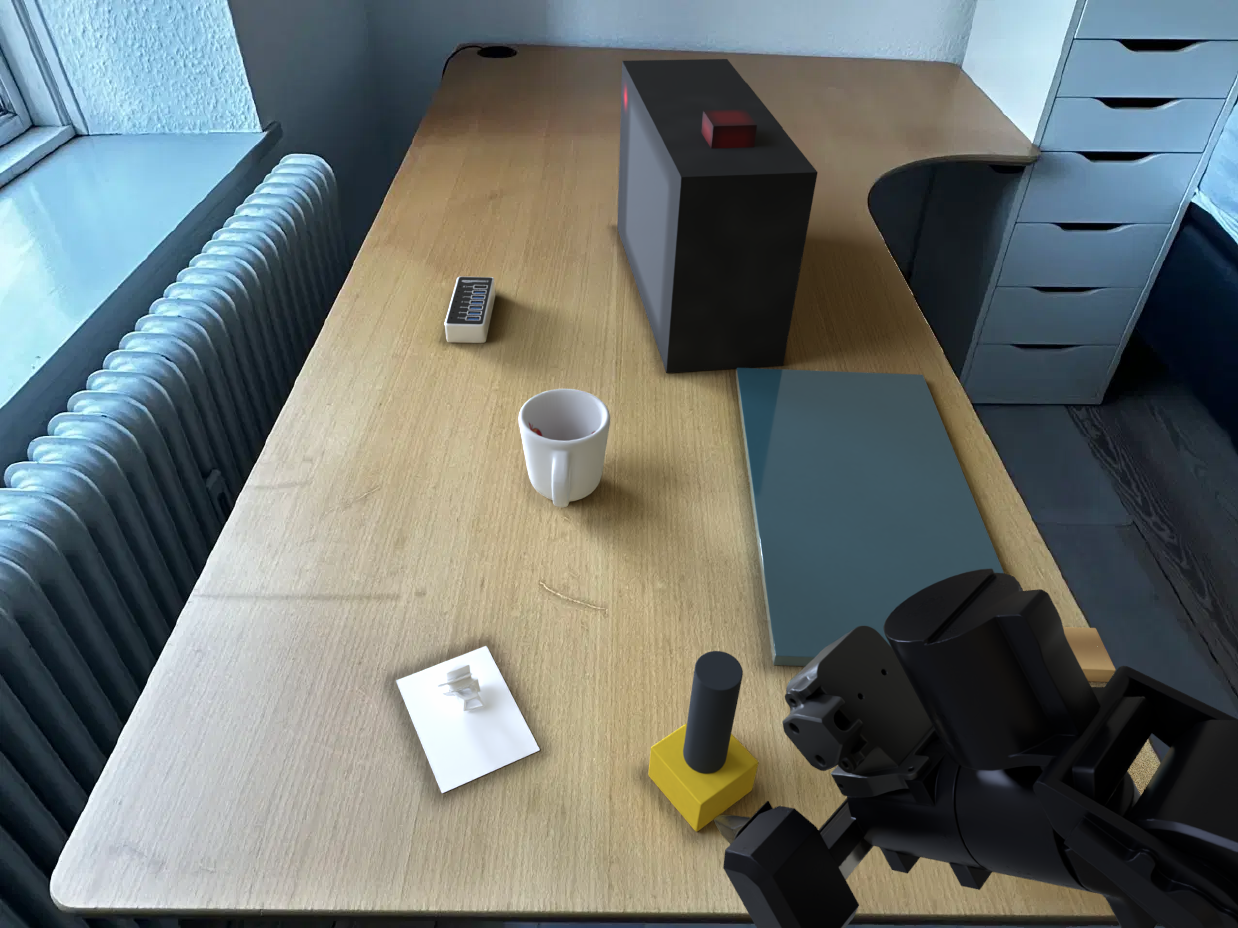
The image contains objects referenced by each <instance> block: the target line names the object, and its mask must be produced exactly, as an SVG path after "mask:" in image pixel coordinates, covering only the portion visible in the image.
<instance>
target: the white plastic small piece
mask: <svg viewBox="0 0 1238 928" xmlns="http://www.w3.org/2000/svg"><path fill="white" fill-rule="evenodd" d="M445 679H446V682H443V683H440V684H438V685H437V687H438V688H440V689H439V690H440V694H441V695H443V696H445V697H454V696H455V697H456V699H457V701H458V703H459V705H460V708H461V710H462V711H463V712H467V711H472V710H476V709H480V708H485V707H486V704H485V703H484V701H483V699H482V697H481V696H480V694H479V693H480V692H481V686H480V681H479V677H478V675H477V674H475V675H473V673H472V672H471V665H470V664H457V665H455V666H454V667H453V668H452V669H450V670H449V671H448V672H447V673H446V674H445Z"/></svg>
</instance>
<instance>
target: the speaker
mask: <svg viewBox="0 0 1238 928" xmlns="http://www.w3.org/2000/svg"><path fill="white" fill-rule="evenodd" d="M620 87H621V89H620V90H621V91H620V120H619V121H620V124H619V125H620V127H619V155H618V156H619V158H618V162H619V163H618V188H617V189H618V191H617V192H618V193H617V197H618V198H617V221H616V222H617V225H616V228H617V232H618V235H619V237H620V238H619V239H620V240H621V243H622V246H623V248H624V253H625V256H626V258H627V262H628V264H629V267H630V271H631V273H632V276H633V279H634V283H635V285H636V288H637V291H638V294H639V297H640V299H641V303H642V306H643V308H644V311H645V314H646V317H647V320H648V323H649V327H650V329H651V333H652V336H653V338H654V341H655V343H656V346H657V350H658V353H659V356H660V358H661V362H662V365H663V367H664V370H665V373H666V374H673V373H691V372H706V371H719V370H720V371H721V370H734V369H735V370H737V368H764V367H766V368H768V367H780V366H781V367H783V366H784V363H785V358H786V352H787V347H788V341H789V337H790V330H791V325H792V324H791V323H792V318H793V313H794V307H795V301H796V296H797V290H798V284H799V279H800V273H801V268H802V264H803V263H802V262H803V256H804V251H805V245H806V240H807V234H808V228H809V224H810V223H809V222H810V219H811V213H812V208H813V207H812V205H813V201H814V195H815V190H816V184H817V178H818V173H819V172H818V171H817V169H816V168H815V167H814V166H813V164H812V163H811V162H810V161H809V160H808V157H806V155H804V153H803V152H802V150H801V149H800V148H799V147H798V145H797V144H796V143H795V142H794V140H792V138H791V137H790V136H789V135H788V133H787V132H786V130H785V129H784V128H783V126H782V125H781V124H780V122H779V121H778V120H777V118H775V116H774V114H772V113H771V111H770V110H769V109H768V107H767V105H765V104H764V103H763V101H762V100H761V99H760V97H759V96H758V95H757V93H756V92H755V91H754V89H752V87H751V86H750V84H748V83H747V82H746V80H745V79H744V78H743V77H742V76H741V74H740V73H739V72H738V71H737V69H736V68H735V67H734V66H733V64H732V63H731V62H730V61H729V59H728V58H703V59H702V58H701V59H698V58H697V59H644V60H643V59H642V60H622V62H621V86H620Z"/></svg>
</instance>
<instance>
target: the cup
mask: <svg viewBox="0 0 1238 928" xmlns="http://www.w3.org/2000/svg"><path fill="white" fill-rule="evenodd" d="M518 426H519V427H518V428H519V432H520V438H521V443H522V449H523V453H524V460H525V464H526V470H527V474H528V478H529V481H530V484H531V485H532V487H533V488H534V490H535V491H536V492H537V493H538V494H540V495H541V496H543V497H544V498H545V499H548V500H550V501H551V500H552V504H553V506H554V507H555V508H566V507H568V506H569V503H570V502H575V501H579V500H582V499H584V498H586V497H588V496H589V495H591V494H592V493H593V492H594V491H595V490H596V488H597V487H598V486H599V484H600V482H601V479H602V475H603V470H604V466H605V465H604V464H605V459H606V452H607V446H608V439H609V432H610V427H611V413H610V410H609V408H608V407H607V405H606V403H604V402H603V400H602V399H600V398H599V397H597V396H596V395H594V394H592V393H590V392H587V391H584V390H580V389H574V388H555V389H549V390H546V391H542V392H540V393H538V394H535V395H534V396H532V397H531V398H529V399H528V400H527V401H526V402H524V404H523V405H522V407H521V408H520V410H519V413H518Z"/></svg>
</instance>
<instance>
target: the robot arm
mask: <svg viewBox="0 0 1238 928" xmlns="http://www.w3.org/2000/svg"><path fill="white" fill-rule="evenodd" d="M1063 627H1064V625H1063V621H1062V618H1061V615H1060V613H1059V612H1058V609H1057V608H1056V606H1055V603H1054V602H1053V599H1052V598H1051V596H1050V594H1049V593H1048V591H1046V590H1044V589H1041V588H1040V589H1039V588H1038V589H1028V590H1024V589H1023V587H1022V586H1021V584H1020V582H1019V581H1018V579H1017V578H1016V577H1015V576H1013V575H1011V574H1008V573H1005V572H1004V573H995V572H994V570H993V569H980V570H975V571H970V572H965V573H962V574H958V575H955V576H952V577H949V578H946V579H944V580H941V581H939V582H936V583H934V584H932V585H930V586H928V587H926V588H924V589H922V590H920V591H919V592H917V593H915V594H914V595H912V596H910V597H909V598H908V599H906V600H905V601H904V602H902V603H901V604H900V605H898V606H897V607H896V608H895V609H894V610H893V611H892V612H891V614H890V615H889V616H888V618H887V619H886V621H885V624H884V626H883V629H884V634H885V636H886V638H887V640H888V641H889V643H890V645H891V646H890V645H889V644H888V643H887V642H886V640H885V639H884V638H883V637H882V636H881V635H880V634H879V633H878V632H877V631H876V630H875V629H873V628H872V627H869V626H858V627H856V628H855V629H853V630H852V631H850V632H848V633H847V634H845V635H844V636H842V637H841V638H839V639H838V640H836V641H834V642H833V643H831V644H830V645H828V646H827V647H825V648H824V649H823V650H822V651H821V652H820V653H819V654H818V655H817V656H816V657H815V658H814V659H813V660H812V661H811V662H810V663H808V664H807V665H806V666H803V668H802V669H801V670H799V672H798V673H796V674H795V675H794V676H793V677H792V678H791V679H790V680H789V681H788V682H787V685H786V689H785V694H784V700H785V702H786V704H787V705H788V707H789V714H788V715H787V716H786V717H785V718H784V719H783V720H782V728H783V732H784V734H785V735H786V736H787V738H788V739H789V740H790V741H791V742H792V744H793V745H794V746H795V748H796V749H797V750H798V751H799V753H800V754H801V755H802V756H803V757H804V759H805V760H806V761H807V763H809V765H810V766H811V767H812V768H814V769H816V770H818V771H820V772H821V771H822V772H827V771H829V770H831V769H833V768H834V769H833V770H832V771H831V772H830V776H831V778H832V779H833V781H834V783H835V785H836V786H837V789H838V790H839V792H840V794H841V795H842V796H844V797H846V798H845V800H843V802H842V803H840V805H839V806H838V807H837V808H836V809H835V811H834V812H833V813H832V814H831V815H830V816H829V817H828V818H827V820H826V821H825V822H824V823H823V824H822V825H821V826H820V827H819V828H818V827H817V826H816V825H815V824H813V823H812V821H810V820H809V819H808V818H806V816H804V815H803V814H802V813H801V812H800V811H799V810H797V809H796V808H794V807H789V806H784V805H778V806H776V807H773V806H772V804H771V802H770V801H769V800H766V801H765V802H764V803H763V804H762V805H761V806H760V807H759V808H758V810H757V811H755V812H754V814H752V816H743V815H734V814H723V815H722V814H720V815H718V816H717V817H716V818H715V819H713V822H714V824H715V826H716V828H717V830H718V831H719V833H720V835H721V836H722V837H723V838H724V840H725V841H726V842H727V843H728V844H729V845H728V846H727V847H726V848H725V850H724V858H723V864H722V865H723V866H722V868H723V871H724V872H725V874H726V876H727V877H728V879H729V881H730V883H731V885H732V886H733V888H734V890H735V892H736V894H737V895H738V897H739V899H740V901H741V903H742V904H743V906H744V908H745V909H746V911H747V913H748V915H749V917H750V919H751V920H752V922H753V924H754V925H755V927H756V928H847V927H848V925H849V924H850V923H851V922H852V921H853V919H854V918H855V916H856V914H857V911H858V909H859V907H860V903H859V901H858V900H857V898H856V896H855V894H854V892H853V891H852V889H851V887H850V885H849V884H848V882H847V880H848V878H849V877H850V876H851V874H852V873H853V872H854V871H855V869H856V868H857V867H858V866H859V865H860V863H861V862H862V861H863V860H864V859H865V857H866V856H867V855H868V854H869V852H870V851H871V850H872V849H873V847H877V848H879V849H880V851H881V853H882V854H883V856H884V859H885V860H886V862H887V864H888V866H889V867H890V869H891V870H892V871H894V872H898V873H903V874H907V875H908V874H909V873H910V871H911V870H912V869H913V868H914V867H915V865H916V864H917V863H918V861H919V860H920V859H921V858H923V859H928V860H933V861H937V862H942V863H947V864H949V866H950V868H951V870H952V872H953V873H954V876H955V878H956V879H957V882H958V883H959V884H960V886H961V887H965V888H969V889H973V890H977V891H980V890H981V889H982V887H983V886H984V885H985V883H986V882H987V880H989V878H990V877H991V875H992V873H996V874H1001V875H1006V876H1010V877H1015V878H1020V879H1025V880H1030V881H1035V882H1040V883H1044V884H1050V885H1054V886H1058V887H1063V888H1068V889H1073V890H1079V891H1082V892H1088V893H1092V894H1098V895H1101V896H1102V897H1103V898H1105V900H1106V902H1107V904H1108V905H1109V907H1110V910H1111V911H1112V913H1113V915H1114V917H1115V919H1116V920H1117V923H1118V925H1119V927H1120V928H1156V927H1157V925H1160V926H1162V927H1163V928H1238V718H1236V717H1234V716H1233V715H1230V714H1228V713H1225V712H1224V711H1222V710H1220V709H1218V708H1215V707H1214V706H1212V705H1210V704H1207V703H1205V702H1204V701H1202V700H1199V699H1197V698H1195V697H1193V696H1192V695H1191V696H1190V695H1189V694H1187V693H1184V692H1182V691H1180V690H1179V689H1176V688H1175V687H1172V686H1170V685H1168V684H1166V683H1164V682H1161V681H1159V680H1157V679H1155V678H1153V677H1152V676H1149V675H1147V674H1145V673H1143V672H1141V671H1139V670H1136V669H1135V668H1132V667H1130V666H1128V665H1121V666H1118V668H1117V669H1116V671H1115V673H1114V674H1113V676H1112V677H1111V679H1110V680H1109V681H1108V682H1106V684H1105V685H1104V686H1091V684H1090V681H1088V680H1087V678H1086V676H1085V674H1084V672H1083V670H1082V668H1081V666H1080V664H1079V662H1078V660H1077V658H1076V656H1075V654H1074V652H1073V651H1072V649H1071V647H1070V645H1069V643H1068V641H1067V638H1066V636H1065V634H1064V629H1063ZM1151 735H1153V736H1154V737H1156V738H1157V739H1158V740H1159V741H1161V743H1163V744H1165V745H1166V746H1167V747H1168V748H1169V749H1168V750H1167V753H1166V754H1165V755H1164V757H1163V758H1162V760H1161V762H1160V763H1159V765H1158V766H1157V768H1156V770H1155V771H1154V772H1153V775H1152V777H1151V778H1150V779H1149V782H1148V783H1147V784H1146V786H1145V788H1144V789H1143V791H1142V792H1140V791H1139V789H1138V787H1137V785H1136V783H1135V781H1134V779H1133V778H1132V775H1131V774H1130V772H1129V770H1130V768H1131V766H1132V765H1133V764H1134V762H1135V760H1136V759H1137V758H1138V755H1139V754H1140V752H1141V751H1142V750H1143V748H1144V746H1145V745H1146V743H1147V742H1148V740H1149V739H1150V737H1151Z"/></svg>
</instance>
